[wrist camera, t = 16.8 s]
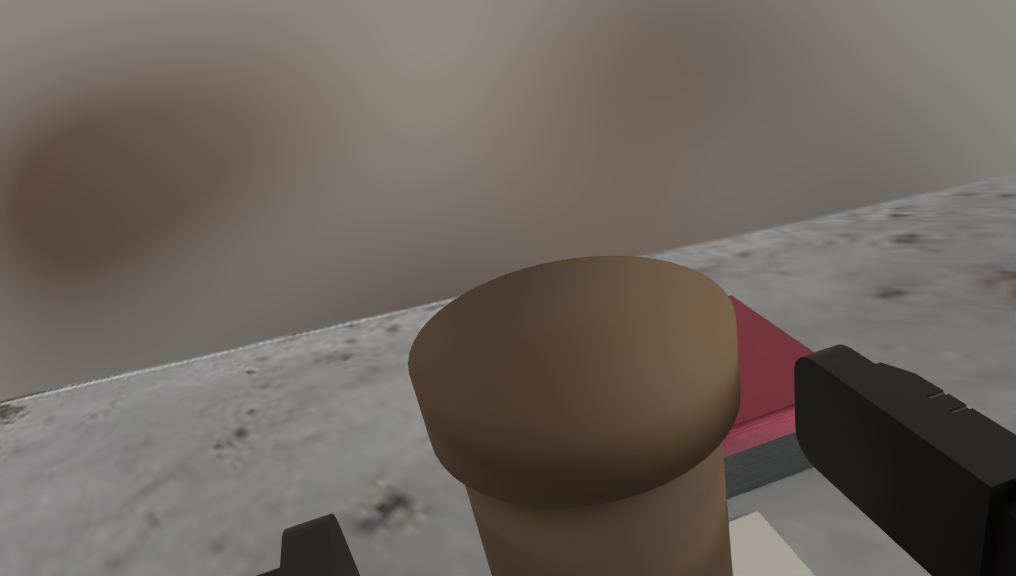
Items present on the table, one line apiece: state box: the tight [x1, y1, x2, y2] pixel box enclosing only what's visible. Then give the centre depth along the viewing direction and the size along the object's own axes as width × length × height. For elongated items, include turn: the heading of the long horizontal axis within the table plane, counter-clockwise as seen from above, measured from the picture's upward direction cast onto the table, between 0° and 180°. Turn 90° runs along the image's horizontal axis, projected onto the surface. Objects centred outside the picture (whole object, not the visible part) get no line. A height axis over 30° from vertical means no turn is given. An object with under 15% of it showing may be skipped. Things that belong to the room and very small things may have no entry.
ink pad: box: [722, 296, 814, 498], centre depth 24 cm, size 8×8×2 cm
